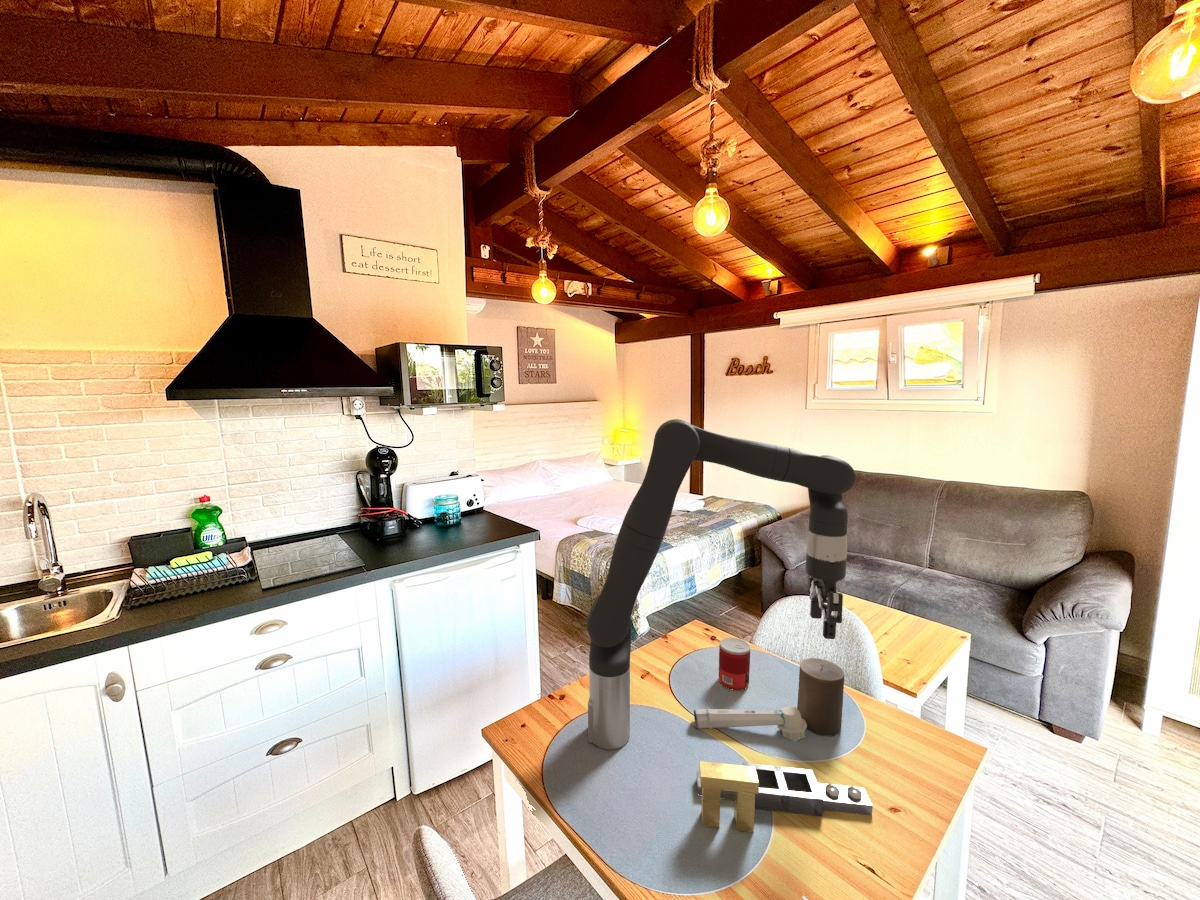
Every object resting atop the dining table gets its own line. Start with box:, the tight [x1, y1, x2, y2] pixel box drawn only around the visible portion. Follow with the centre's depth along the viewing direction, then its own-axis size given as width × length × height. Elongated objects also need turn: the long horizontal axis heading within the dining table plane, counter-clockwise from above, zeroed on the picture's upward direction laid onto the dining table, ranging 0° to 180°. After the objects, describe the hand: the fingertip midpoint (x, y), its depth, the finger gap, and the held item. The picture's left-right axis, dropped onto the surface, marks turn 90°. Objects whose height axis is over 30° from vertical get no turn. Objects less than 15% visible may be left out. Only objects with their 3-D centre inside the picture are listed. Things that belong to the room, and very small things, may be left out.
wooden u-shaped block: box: [698, 760, 760, 833], centre depth 86 cm, size 10×4×10 cm, turn 82°
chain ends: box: [696, 762, 874, 817], centre depth 92 cm, size 32×7×4 cm, turn 82°
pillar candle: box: [796, 657, 845, 737], centre depth 112 cm, size 10×10×15 cm
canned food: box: [718, 637, 751, 691], centre depth 128 cm, size 8×8×11 cm
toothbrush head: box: [693, 705, 807, 742], centre depth 110 cm, size 5×7×25 cm
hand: (822, 627), depth 99 cm, fingers open, 8 cm apart
